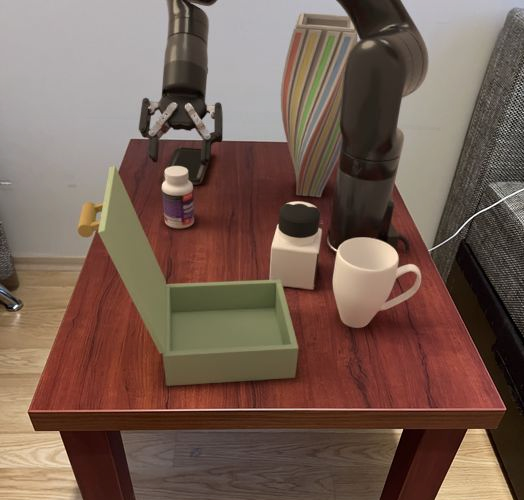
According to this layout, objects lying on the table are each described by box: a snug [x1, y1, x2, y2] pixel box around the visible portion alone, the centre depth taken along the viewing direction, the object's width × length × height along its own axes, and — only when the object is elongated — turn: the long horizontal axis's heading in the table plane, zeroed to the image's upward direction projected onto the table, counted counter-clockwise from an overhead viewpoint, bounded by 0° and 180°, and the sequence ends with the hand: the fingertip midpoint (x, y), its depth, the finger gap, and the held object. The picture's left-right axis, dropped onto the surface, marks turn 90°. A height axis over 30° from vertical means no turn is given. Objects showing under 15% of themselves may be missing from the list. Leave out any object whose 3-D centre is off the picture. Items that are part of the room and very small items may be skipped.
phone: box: [162, 147, 212, 186], centre depth 114 cm, size 8×1×15 cm
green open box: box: [162, 279, 299, 387], centre depth 73 cm, size 17×15×5 cm
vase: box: [280, 12, 359, 198], centre depth 99 cm, size 14×14×30 cm
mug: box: [332, 237, 422, 329], centre depth 76 cm, size 12×8×11 cm
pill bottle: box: [161, 166, 195, 229], centre depth 95 cm, size 5×5×10 cm
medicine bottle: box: [268, 201, 323, 291], centre depth 84 cm, size 7×7×12 cm
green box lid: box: [76, 165, 167, 355], centre depth 64 cm, size 17×15×4 cm
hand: (179, 162), depth 94 cm, fingers open, 8 cm apart
